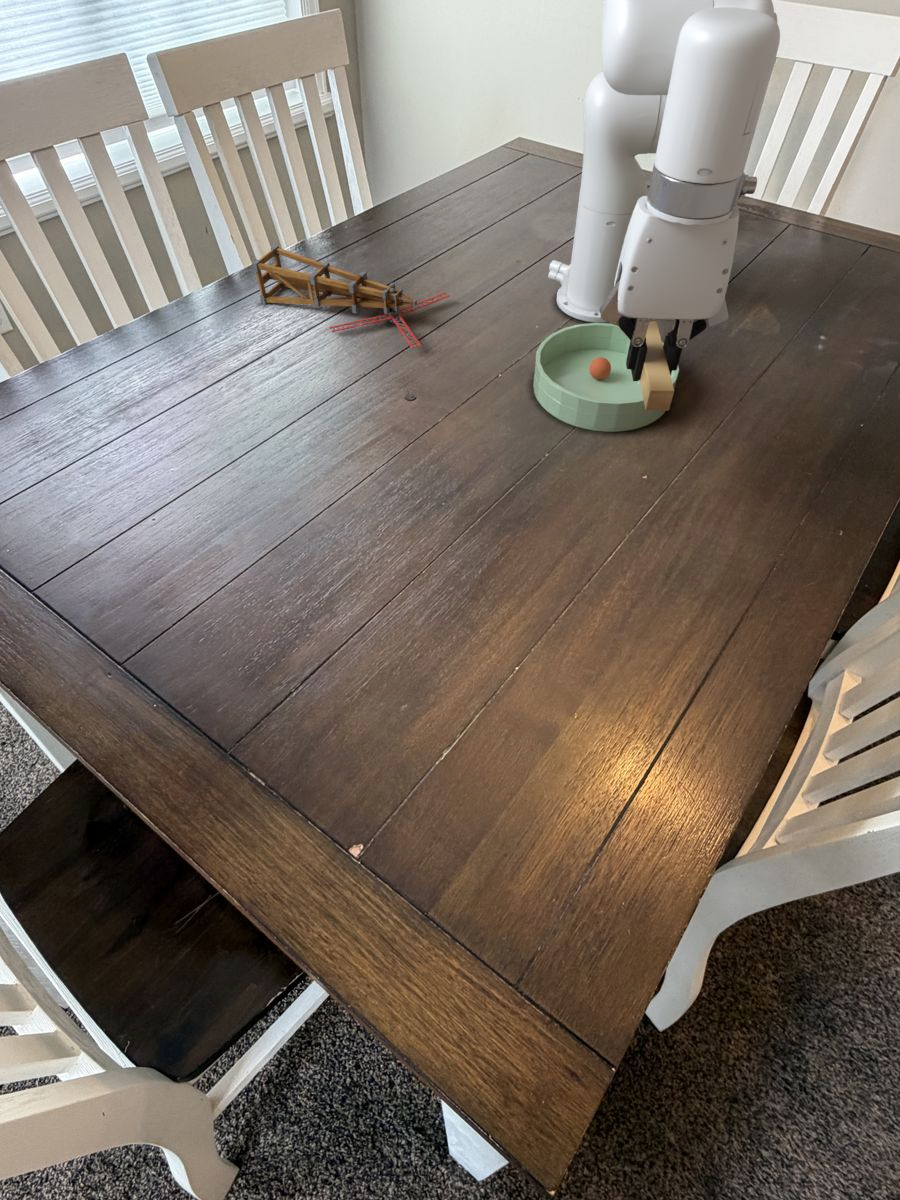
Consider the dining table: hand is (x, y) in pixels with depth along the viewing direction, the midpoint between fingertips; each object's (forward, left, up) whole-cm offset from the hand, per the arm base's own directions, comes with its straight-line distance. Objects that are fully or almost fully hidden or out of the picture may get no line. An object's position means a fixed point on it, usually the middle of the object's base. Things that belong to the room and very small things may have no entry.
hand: (649, 373), depth 78 cm
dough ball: (-13, +17, -14) cm, 26 cm away
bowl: (-12, +16, -16) cm, 25 cm away
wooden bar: (0, 0, 0) cm, 0 cm away
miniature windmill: (-54, +11, -16) cm, 57 cm away
